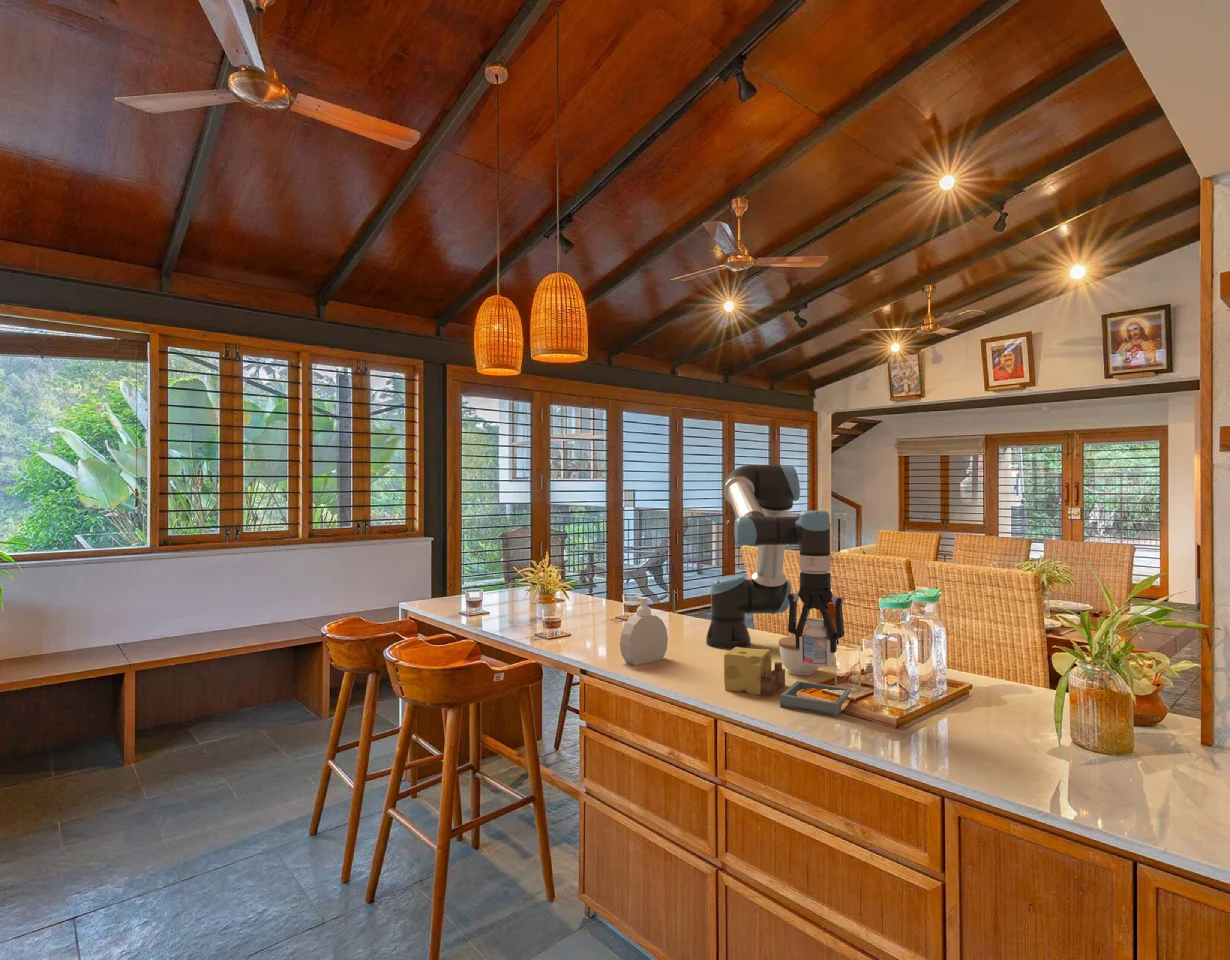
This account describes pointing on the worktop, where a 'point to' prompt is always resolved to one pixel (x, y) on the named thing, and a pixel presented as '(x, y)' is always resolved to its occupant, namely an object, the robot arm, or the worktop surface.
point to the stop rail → (772, 680)
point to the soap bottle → (643, 637)
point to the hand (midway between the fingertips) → (816, 663)
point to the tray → (812, 705)
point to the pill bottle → (815, 643)
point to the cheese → (745, 669)
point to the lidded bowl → (793, 657)
